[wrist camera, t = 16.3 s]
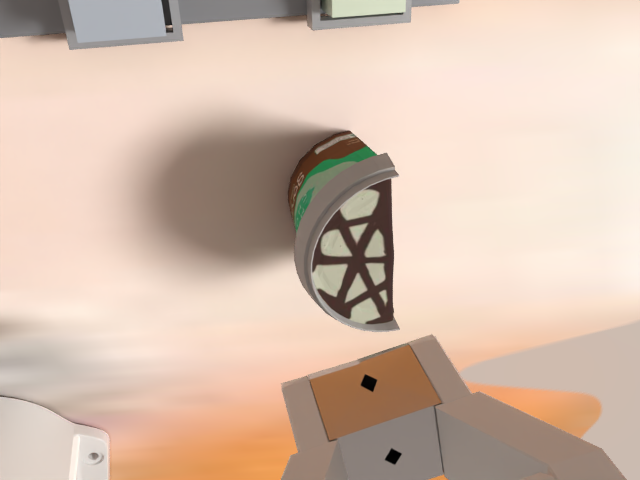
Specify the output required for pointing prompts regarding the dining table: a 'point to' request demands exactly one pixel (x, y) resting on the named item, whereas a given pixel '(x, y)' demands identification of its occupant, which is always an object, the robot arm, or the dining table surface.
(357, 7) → the sage key
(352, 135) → the food container
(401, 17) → the keypad base
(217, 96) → the dining table surface
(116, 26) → the slate key
